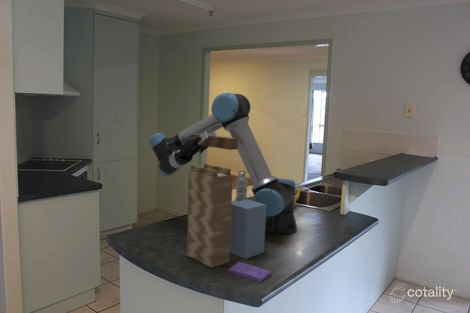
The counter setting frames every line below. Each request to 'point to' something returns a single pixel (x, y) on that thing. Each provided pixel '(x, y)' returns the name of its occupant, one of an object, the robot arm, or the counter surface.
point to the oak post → (209, 214)
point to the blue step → (247, 228)
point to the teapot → (297, 195)
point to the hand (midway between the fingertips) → (211, 134)
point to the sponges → (250, 271)
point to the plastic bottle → (241, 186)
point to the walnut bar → (218, 142)
